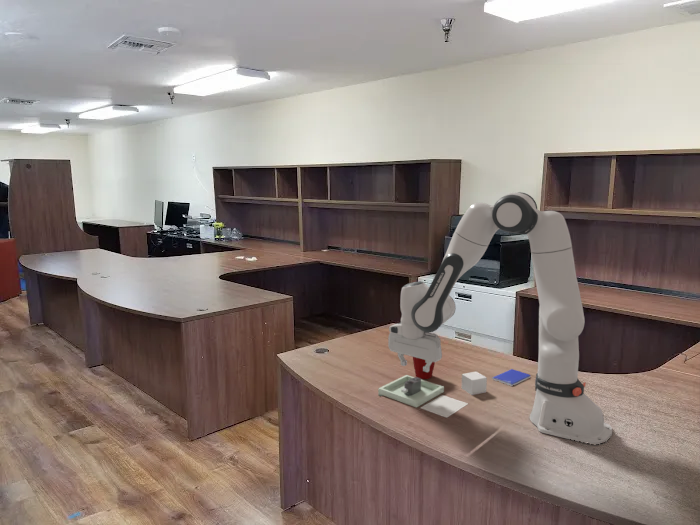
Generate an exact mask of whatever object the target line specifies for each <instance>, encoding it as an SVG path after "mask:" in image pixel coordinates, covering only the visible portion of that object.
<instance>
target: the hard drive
mask: <svg viewBox="0 0 700 525" xmlns="http://www.w3.org/2000/svg"><path fill="white" fill-rule="evenodd" d="M530 378H531V374H530V373H529V374H528V373H525V372H523V371H519V370H516V369H513V368H511V369H508V370H505V371H504V372H502V373H500V374H499V373H498V374H497V375H496V376H492V377H491V380H492V379H493V381H495V382H497V381H499V382H498V383H500V382H501V383H500V384H503V383H504V384H503V385H506V384H507V385H506V386H509V385H510V386H509V387H513V385H514V386H516V385H518V384H520V383H522V382H524V381H526V380H528V379H530Z"/></svg>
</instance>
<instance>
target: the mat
mask: <svg viewBox="0 0 700 525" xmlns="http://www.w3.org/2000/svg"><path fill="white" fill-rule="evenodd" d="M467 405H469V403H468V402H465V401H462V400H459V399H456V398H453V397H450V396H447V395H444V394H440V395H439V396H437V397H435V399H432V400H430V401H428V402H427V403H426V404H423V405H421V407H420V409H422V410H424V411H427V412H430V413H433V414H436V415H438V416H441V417H444V418H449V417H451V416H452V415H453V414H455V413H457V412H458V411H460V410H462V409H463V408H464V407H466V406H467Z"/></svg>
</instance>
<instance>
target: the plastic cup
mask: <svg viewBox="0 0 700 525" xmlns="http://www.w3.org/2000/svg"><path fill="white" fill-rule="evenodd" d="M412 361H413V362H412V363H413V368H414V372H415V377H418V378H421V379H422V380H428V379H431V378H432V377H433V374H434V373H433V372H434V368H435V364H436V362H432V363H431V365H430V370H429V372H424V371H423V366H425V365H426V364H427V363H426V362H425V360H424V359H420V358H416V357H412Z"/></svg>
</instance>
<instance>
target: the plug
mask: <svg viewBox="0 0 700 525" xmlns="http://www.w3.org/2000/svg"><path fill="white" fill-rule="evenodd" d="M413 377H414V378H412V379H410V380H408V381H406V382H405V383H404V389H402V390H401V392H403V393H404V394H405V395H406V396H412V395H414V394H416V393H418V392H419V391H421V378H418V377H416V376H413Z"/></svg>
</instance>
